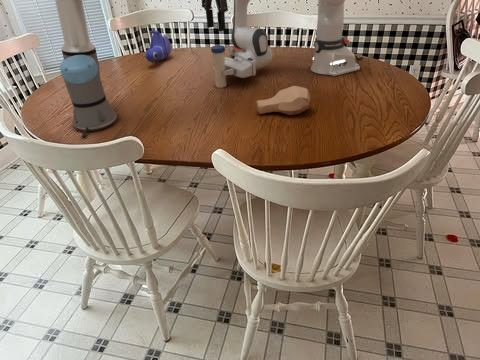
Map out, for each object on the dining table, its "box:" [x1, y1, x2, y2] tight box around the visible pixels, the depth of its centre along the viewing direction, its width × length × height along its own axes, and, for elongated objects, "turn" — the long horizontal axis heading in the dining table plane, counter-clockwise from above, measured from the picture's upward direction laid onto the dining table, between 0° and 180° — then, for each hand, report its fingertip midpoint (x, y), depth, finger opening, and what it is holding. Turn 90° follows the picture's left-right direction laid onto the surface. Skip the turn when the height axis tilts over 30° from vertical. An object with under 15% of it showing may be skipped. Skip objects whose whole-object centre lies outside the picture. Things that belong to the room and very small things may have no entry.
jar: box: [212, 51, 228, 89], centre depth 152 cm, size 5×5×16 cm
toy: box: [144, 30, 172, 67], centre depth 185 cm, size 10×17×25 cm
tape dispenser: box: [228, 44, 246, 57], centre depth 185 cm, size 18×5×20 cm
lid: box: [210, 44, 226, 54], centre depth 147 cm, size 6×6×2 cm
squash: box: [255, 85, 312, 116], centre depth 130 cm, size 11×20×9 cm, turn 92°
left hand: (216, 28), depth 143 cm, fingers open, 7 cm apart
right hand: (218, 71), depth 152 cm, fingers closed on jar, 5 cm apart
